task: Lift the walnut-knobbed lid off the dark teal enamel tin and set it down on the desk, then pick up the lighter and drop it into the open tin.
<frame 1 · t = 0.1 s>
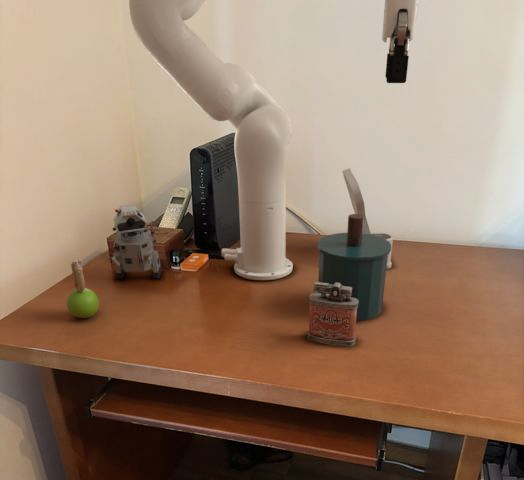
hand: (395, 80, 96), 37 cm above the table, tool pointing down, fingers open, 9 cm apart
tin lid: (353, 247, 96), point 11 cm above the table, touching tin
green ball with peg: (86, 318, 100), on the table
phone holder: (363, 255, 125), on the table
lighter: (331, 340, 91), on the table
tin: (349, 306, 102), on the table
figurine: (138, 280, 114), on the table
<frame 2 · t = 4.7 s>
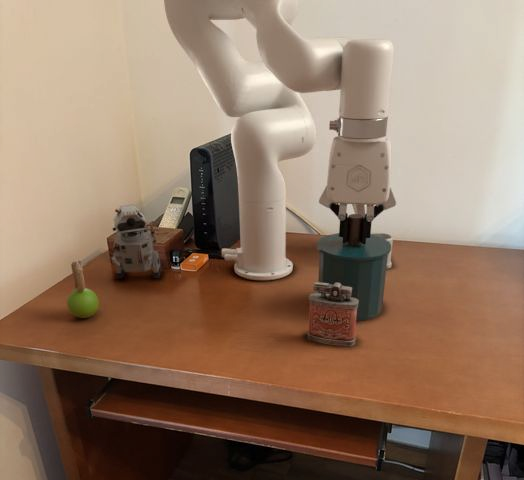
hand: (354, 240, 95), 13 cm above the table, tool pointing down, fingers closed on tin lid, 2 cm apart
tin lid: (353, 247, 96), point 12 cm above the table, touching gripper
everything else where it was.
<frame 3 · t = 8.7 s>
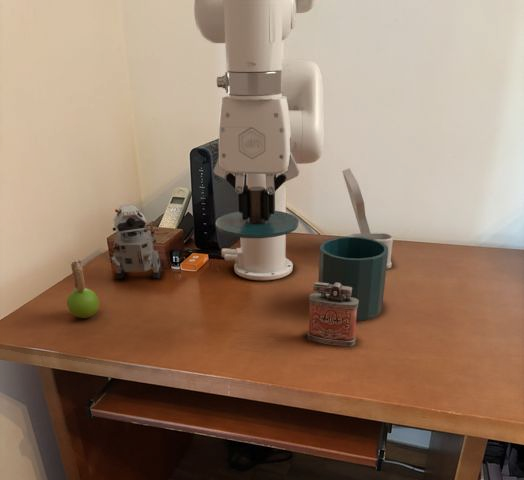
hand: (257, 216, 84), 20 cm above the table, tool pointing down, fingers closed on tin lid, 2 cm apart
tin lid: (257, 225, 85), point 19 cm above the table, touching gripper
everything else where it was.
when the fingers open (2 cm above the table, at t = 12.7 s): tin lid stays where it is, point 1 cm above the table.
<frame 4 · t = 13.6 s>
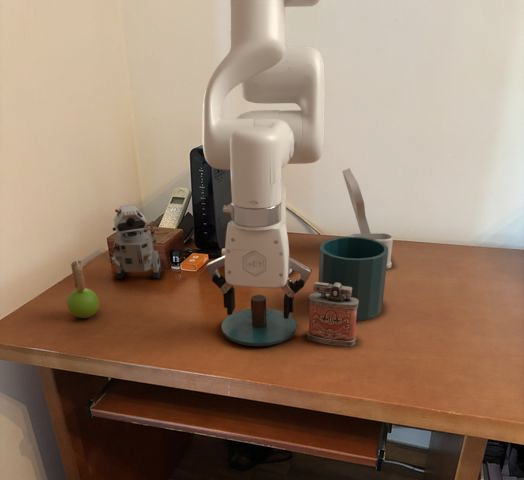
hand: (258, 313, 93), 3 cm above the table, tool pointing down, fingers open, 9 cm apart
tin lid: (259, 327, 94), point 1 cm above the table
everything else where it was.
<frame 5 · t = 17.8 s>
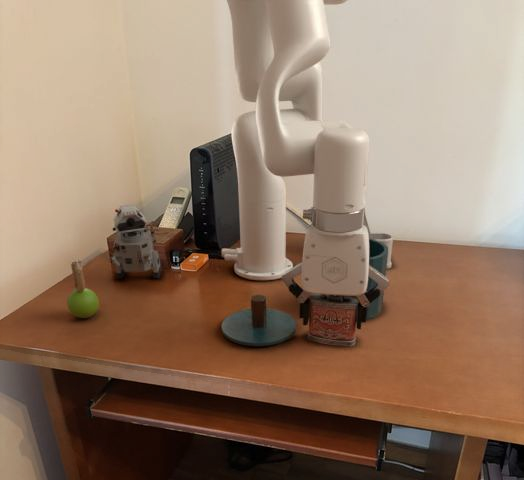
hand: (332, 323, 90), 3 cm above the table, tool pointing down, fingers closed on lighter, 8 cm apart
lighter: (331, 340, 91), on the table, touching gripper
everything else where it was.
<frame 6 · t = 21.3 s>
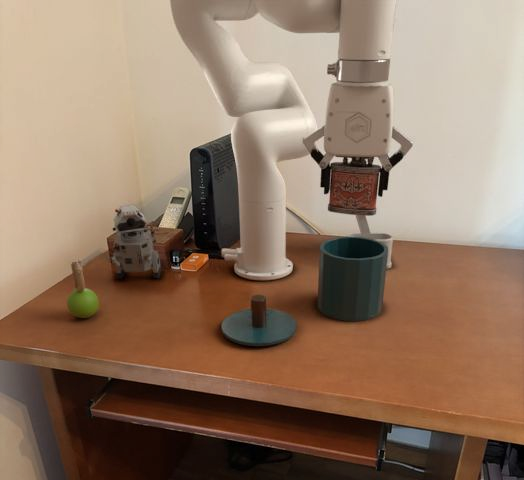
hand: (353, 192, 89), 22 cm above the table, tool pointing down, fingers closed on lighter, 8 cm apart
lighter: (351, 212, 91), point 18 cm above the table, touching gripper
everything else where it was.
when the fingers open (12 cm above the table, at t = 24.7 s): lighter drops 8 cm, resting on tin.
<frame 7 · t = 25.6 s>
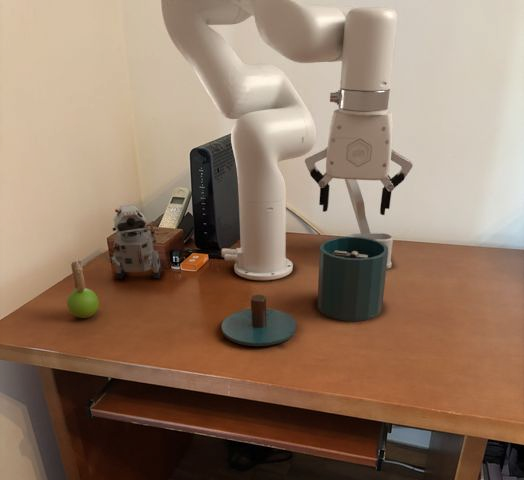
hand: (353, 210, 93), 18 cm above the table, tool pointing down, fingers open, 9 cm apart
lighter: (348, 304, 102), resting on tin
everything else where it was.
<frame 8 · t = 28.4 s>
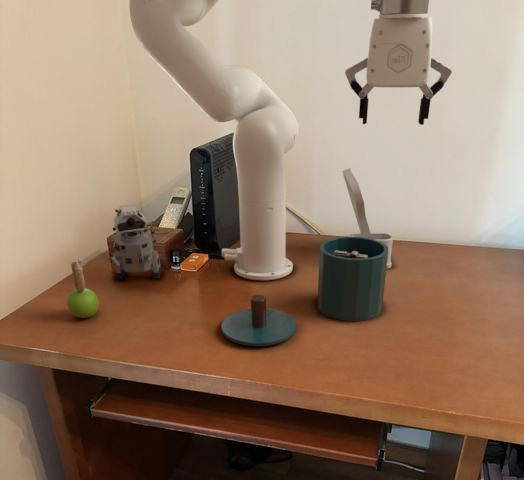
hand: (392, 123, 96), 30 cm above the table, tool pointing down, fingers open, 9 cm apart
nothing on the table moved.
at the end: tin lid point 0.6 cm above the table; lighter inside the target area in the tin (0.4 cm from its centre), point 0.3 cm above the tin's base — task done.
